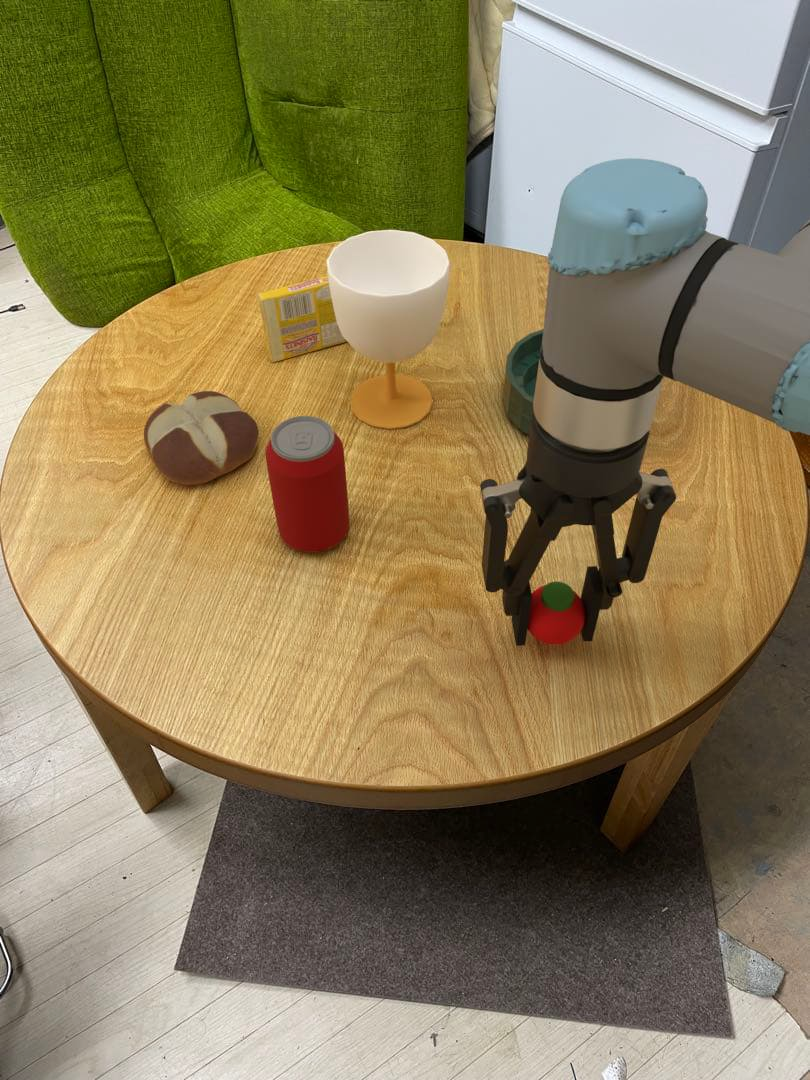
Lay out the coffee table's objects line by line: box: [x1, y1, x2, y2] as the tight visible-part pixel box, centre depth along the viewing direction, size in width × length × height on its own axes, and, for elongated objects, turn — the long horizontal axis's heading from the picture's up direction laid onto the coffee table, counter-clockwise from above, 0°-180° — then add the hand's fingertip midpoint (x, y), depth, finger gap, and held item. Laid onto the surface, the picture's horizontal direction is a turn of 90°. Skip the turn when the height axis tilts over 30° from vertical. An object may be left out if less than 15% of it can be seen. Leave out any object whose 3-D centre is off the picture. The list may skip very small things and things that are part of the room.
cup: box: [325, 229, 451, 430], centre depth 88 cm, size 12×12×17 cm
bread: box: [143, 390, 259, 486], centre depth 88 cm, size 11×11×5 cm
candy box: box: [257, 275, 348, 363], centre depth 99 cm, size 16×2×8 cm, turn 115°
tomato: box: [527, 581, 585, 646], centre depth 71 cm, size 5×5×5 cm
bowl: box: [502, 328, 544, 436], centre depth 92 cm, size 15×15×5 cm
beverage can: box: [264, 415, 350, 553], centre depth 78 cm, size 7×7×12 cm
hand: (551, 629), depth 73 cm, fingers closed on tomato, 5 cm apart
